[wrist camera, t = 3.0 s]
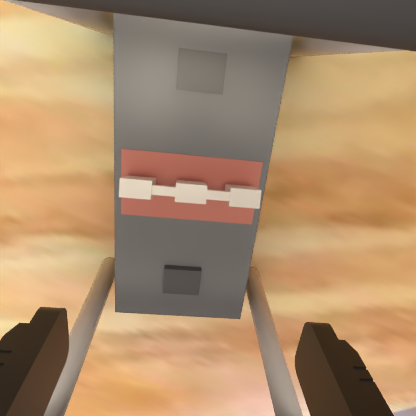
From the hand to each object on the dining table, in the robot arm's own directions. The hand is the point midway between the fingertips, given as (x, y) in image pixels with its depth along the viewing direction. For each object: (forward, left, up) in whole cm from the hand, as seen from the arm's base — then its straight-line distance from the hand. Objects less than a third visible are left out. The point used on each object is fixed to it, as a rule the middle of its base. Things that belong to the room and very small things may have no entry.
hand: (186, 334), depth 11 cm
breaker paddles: (0, 0, -14) cm, 14 cm away
